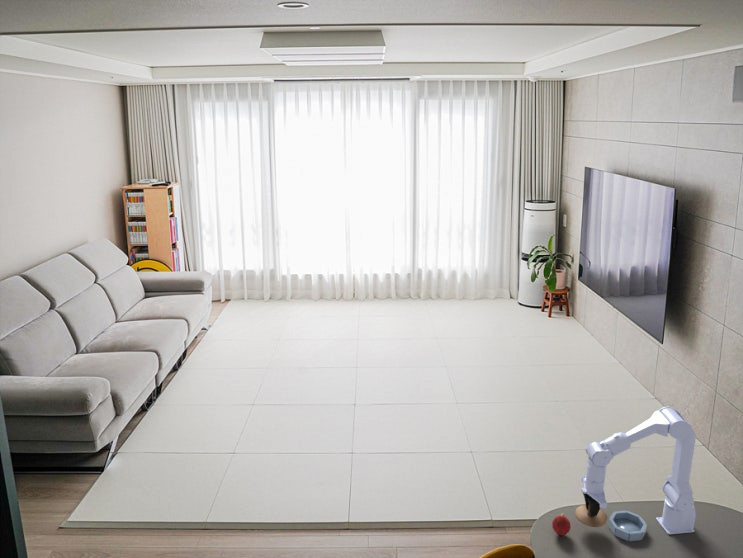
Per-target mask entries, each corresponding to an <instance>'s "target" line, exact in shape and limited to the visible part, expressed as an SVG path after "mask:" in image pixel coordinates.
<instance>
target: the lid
mask: <svg viewBox="0 0 743 558" xmlns="http://www.w3.org/2000/svg"><path fill="white" fill-rule="evenodd" d="M574 514H575V518H576V519H577V521H578V522H579V523H581V524H582V525H585V526H586V527H590V528H591V527H593V528H599V527H603V526H604V525H606V523H608V522H607V521H608V516H607V513H606V511H604V510H603V509H602V508H600V510H599V512H598V514H597V516H591V515H590V506H589V505H588V510H587V509H586V504H582V505H579V506H578V507H576V509H575V512H574Z"/></svg>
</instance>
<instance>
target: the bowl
mask: <svg viewBox="0 0 743 558" xmlns="http://www.w3.org/2000/svg"><path fill="white" fill-rule="evenodd" d="M647 527H648V525H647V523H646V522H645V520H644V518H642V516H641V515H639V514H636V513H634V512H631V511H630V510H619V511H618V510H617V511H616V510H615V511H613V512H612V514H610V516H609V520H608V528H609V529H610V531H611V532H612V534H613V535H614V536H615V537H618V538H619V539H622V540H625V541H626V542H634V541H635V542H636V541H642V540H643V539H644V537H645V535H646V534H647Z"/></svg>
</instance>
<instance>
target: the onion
mask: <svg viewBox="0 0 743 558" xmlns="http://www.w3.org/2000/svg"><path fill="white" fill-rule="evenodd" d="M551 524H552V525H551V526H552V529H553V531H554V533H556V534H557V535H559V536H565V535H567V534H568V533H569V532H570V531H571V522H570V520H569V518H568V517H566V516H565V514H564V513H561V514H560V515H558V516H556V517H554V519H553V520H552V523H551Z"/></svg>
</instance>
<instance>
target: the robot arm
mask: <svg viewBox="0 0 743 558" xmlns="http://www.w3.org/2000/svg"><path fill="white" fill-rule="evenodd" d="M654 434H657V435H660V436H663V437H667V438H668V434H669V435H670V437H672V438H674V439H675V445H674V453H673V460H672V467H671V474H670V475H667V476H666V479H665V481H664V483H663V485H662V491H663V493H664V503H663V510H662V514H661V515H662V516H660V517H655V520H656V521H657V522H658V524H659V525H660V526H661V528H662V529H663V530H664V531H665V533H666V534H667V535H677V534H686V533H687V534H689V533H695V529H694V526H695V521H696V517H697V513H696V512H697V511H696V508H695V499H694V497H693V494H694V491H693V489H692V487H691V483H690V479H691V478H690V476H691V472H692V471H691V470H692V465H693V458H694V453H695V445H696V440H697V438H696V437H697V435H696V432H695V430H694V428H693V426H692V425H691V424H690V423H689V422H688V421H687V420H686V419H685V418H684V416H683V415H681V413H680V412H679V411H678V410H676V409H675V408H674V407H672V406H668V405H666V406H664V407H661V408H660V409H657V410H656V411H653V414H652V415H651V416H650V418H648V419H647V420H645V421H643V422H642V423H640V424H638V425H636V426H635V427H633V428H631V429H630V430H628V431H627V432H621V431H620V432H619V431H618V432H615V433H613V434H612V435H611V436H609V437H606V438H605V439H604V440H601V441H594V442H591V443H589V444H588V446H587V448H585V453H586V454H587V456H588V457H587V466H586V467H587V468H586V474H585V475H582V476H581V482H582V483H583V487H581V493H582V495H583V498H584V502H585V504H584V505H586V509H587V510H588V505H589V506H590V515H591V516H597V514H598V512H599V510H600V509H607V508H608V502H607V500H606V494H605V479H606V473H607V472H606V471H607V466H608V465H609V464H610V463H611V461H612V460H613V459H614V457H616V456H618V455H620V454H622V453H624V452H626V451H628V450H629V449H630V448H631V445H632V444H633V443H634V442H637V441H640V440H643V439H644V438H648V437H649V436H651V435H654Z"/></svg>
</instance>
